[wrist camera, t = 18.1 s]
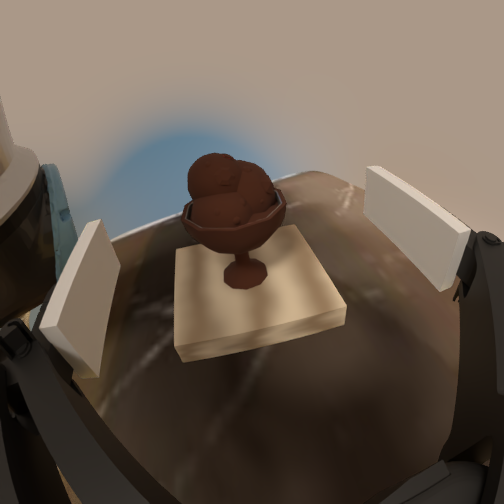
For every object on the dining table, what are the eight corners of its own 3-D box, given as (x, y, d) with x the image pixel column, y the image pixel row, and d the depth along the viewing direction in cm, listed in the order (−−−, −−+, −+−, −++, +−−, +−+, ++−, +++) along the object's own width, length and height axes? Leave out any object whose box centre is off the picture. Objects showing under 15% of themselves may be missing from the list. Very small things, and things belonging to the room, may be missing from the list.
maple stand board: (183, 362, 29) (174, 346, 27) (181, 265, 44) (176, 249, 42) (344, 324, 30) (346, 305, 29) (295, 240, 45) (294, 224, 43)
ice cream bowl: (240, 322, 29) (209, 181, 20) (185, 276, 36) (152, 163, 28) (309, 271, 34) (305, 145, 25) (248, 239, 41) (232, 135, 33)
